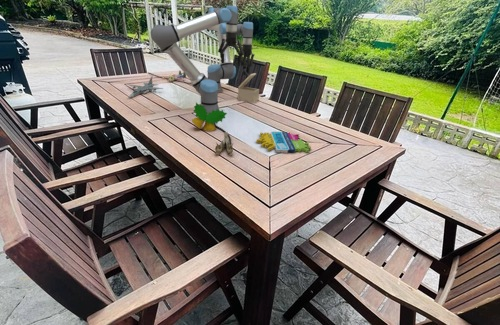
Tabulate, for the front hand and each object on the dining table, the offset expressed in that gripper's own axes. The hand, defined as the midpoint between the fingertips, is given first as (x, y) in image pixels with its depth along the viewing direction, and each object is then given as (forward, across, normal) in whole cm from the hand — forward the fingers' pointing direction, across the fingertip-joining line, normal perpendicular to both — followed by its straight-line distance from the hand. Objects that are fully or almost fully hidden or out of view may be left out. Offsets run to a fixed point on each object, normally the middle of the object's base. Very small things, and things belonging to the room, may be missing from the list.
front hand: (230, 64), depth 190 cm
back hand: (+11, +1, -27) cm, 29 cm away
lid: (+16, -1, -27) cm, 31 cm away
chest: (+32, -3, -27) cm, 42 cm away
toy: (+32, +93, -49) cm, 110 cm away
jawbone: (+32, -36, +68) cm, 83 cm away
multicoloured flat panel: (+32, -58, +40) cm, 78 cm away
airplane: (+32, +80, +10) cm, 87 cm away
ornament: (+32, -12, +46) cm, 57 cm away
